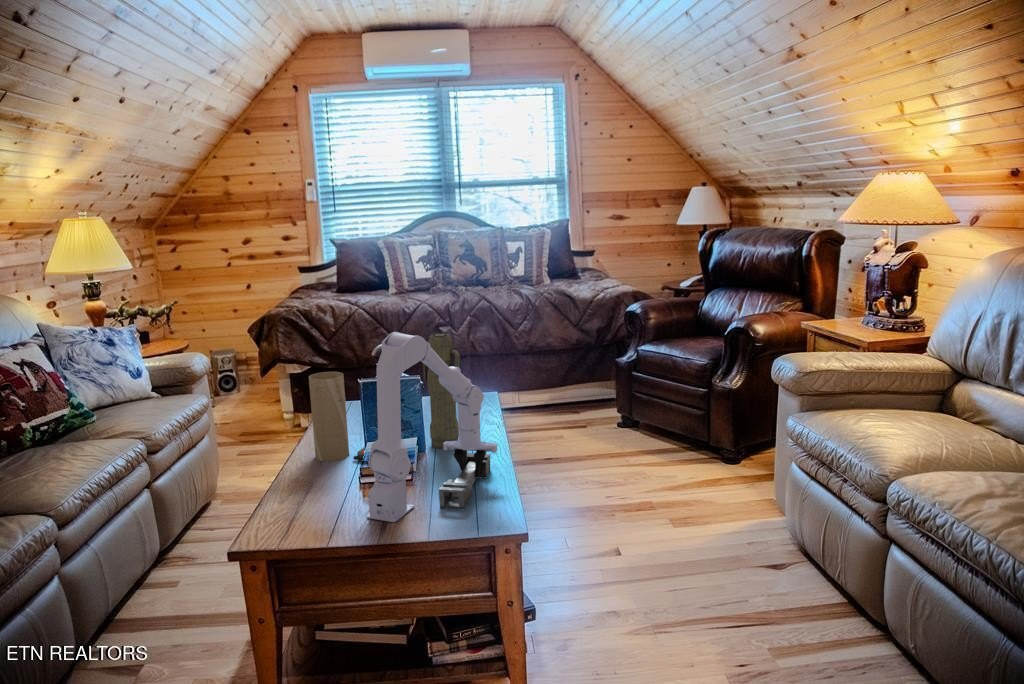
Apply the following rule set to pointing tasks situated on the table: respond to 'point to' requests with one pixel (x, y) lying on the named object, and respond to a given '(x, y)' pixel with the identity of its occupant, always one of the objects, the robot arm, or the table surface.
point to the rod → (466, 475)
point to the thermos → (442, 394)
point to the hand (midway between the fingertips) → (471, 476)
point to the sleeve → (455, 502)
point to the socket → (485, 464)
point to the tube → (329, 416)
